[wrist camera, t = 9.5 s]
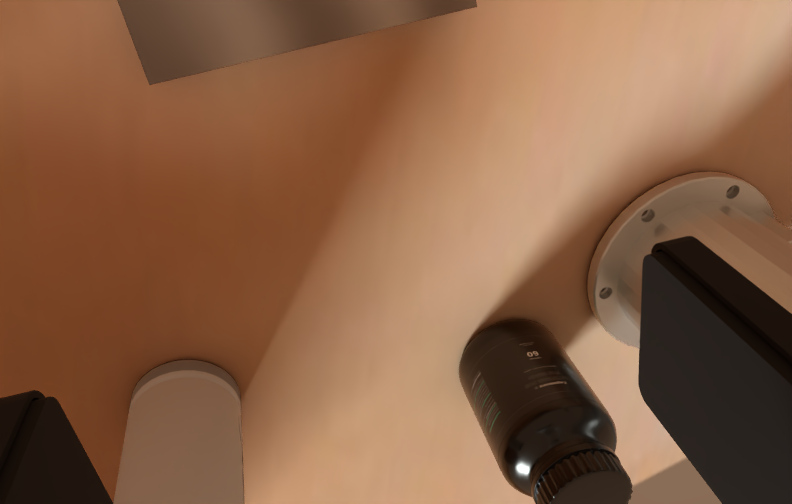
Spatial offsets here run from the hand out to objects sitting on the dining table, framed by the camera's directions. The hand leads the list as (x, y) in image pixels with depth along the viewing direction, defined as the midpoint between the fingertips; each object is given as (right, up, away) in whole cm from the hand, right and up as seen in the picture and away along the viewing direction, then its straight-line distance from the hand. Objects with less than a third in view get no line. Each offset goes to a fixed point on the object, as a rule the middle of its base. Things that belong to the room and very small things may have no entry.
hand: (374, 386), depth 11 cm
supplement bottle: (+8, -5, +34) cm, 35 cm away
